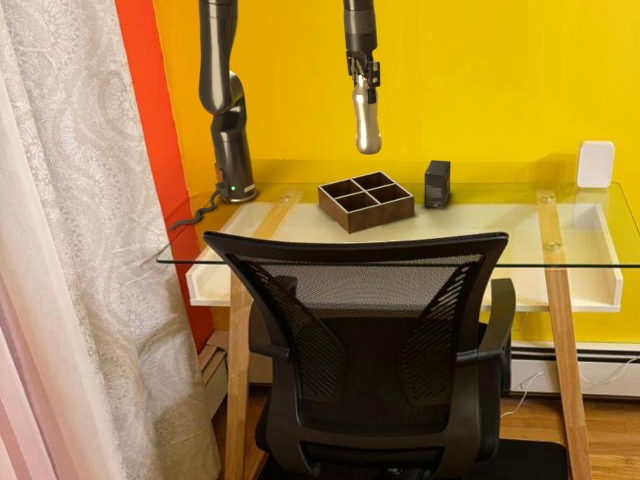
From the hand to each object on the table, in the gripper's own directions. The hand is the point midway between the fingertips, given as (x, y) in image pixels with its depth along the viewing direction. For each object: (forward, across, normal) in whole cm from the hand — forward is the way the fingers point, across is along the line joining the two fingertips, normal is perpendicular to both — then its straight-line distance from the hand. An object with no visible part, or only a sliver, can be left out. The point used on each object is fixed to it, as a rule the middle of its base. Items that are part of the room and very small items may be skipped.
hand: (365, 99), depth 193 cm
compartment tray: (+28, +2, -3) cm, 28 cm away
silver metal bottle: (+14, 0, 0) cm, 14 cm away
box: (+29, +7, +16) cm, 33 cm away
